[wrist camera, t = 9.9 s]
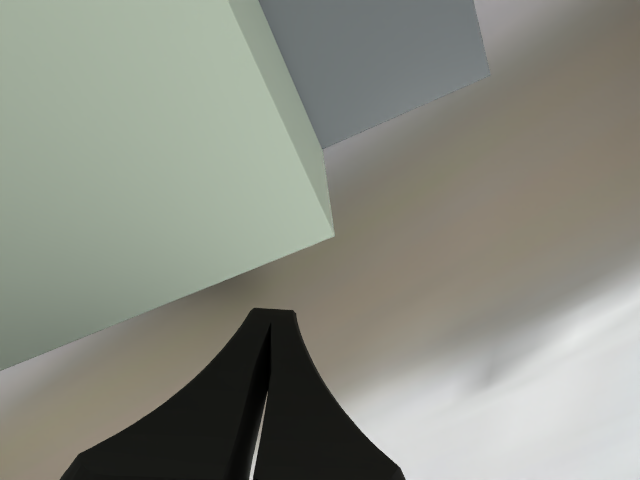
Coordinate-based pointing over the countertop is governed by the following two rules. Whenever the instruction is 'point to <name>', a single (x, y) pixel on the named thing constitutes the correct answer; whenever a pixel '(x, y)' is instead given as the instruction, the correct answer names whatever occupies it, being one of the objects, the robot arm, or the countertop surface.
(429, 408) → the countertop surface
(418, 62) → the plate
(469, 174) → the countertop surface
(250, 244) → the block
